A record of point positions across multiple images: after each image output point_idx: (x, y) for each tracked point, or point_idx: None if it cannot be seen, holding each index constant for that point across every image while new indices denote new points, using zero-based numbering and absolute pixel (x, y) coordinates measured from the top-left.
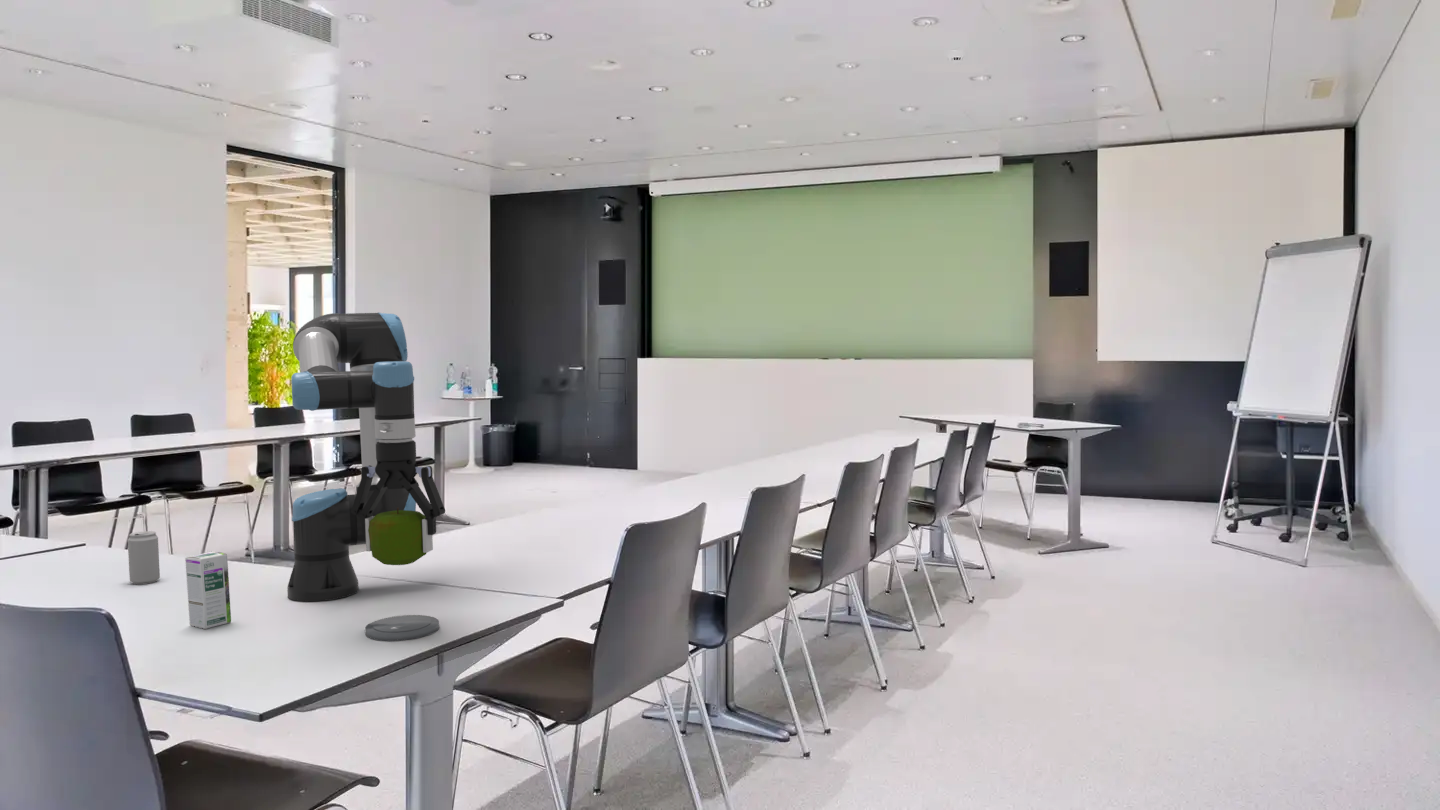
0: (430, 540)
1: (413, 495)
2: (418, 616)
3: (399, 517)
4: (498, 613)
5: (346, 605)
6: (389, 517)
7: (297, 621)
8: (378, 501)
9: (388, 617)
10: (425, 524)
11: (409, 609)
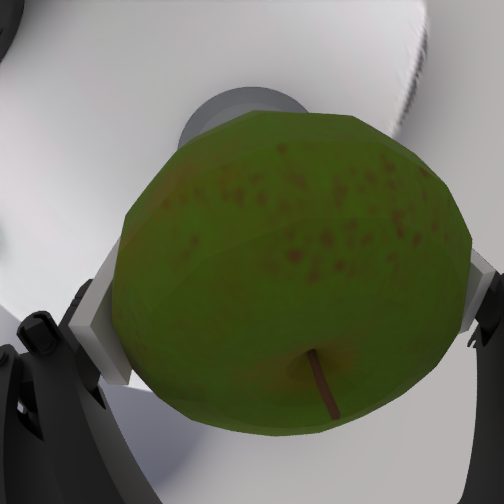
0: None
1: (480, 461)
2: (260, 108)
3: (364, 414)
4: (380, 30)
5: (41, 53)
6: (315, 432)
7: (32, 166)
8: (103, 450)
9: (189, 119)
10: None
11: (174, 19)
